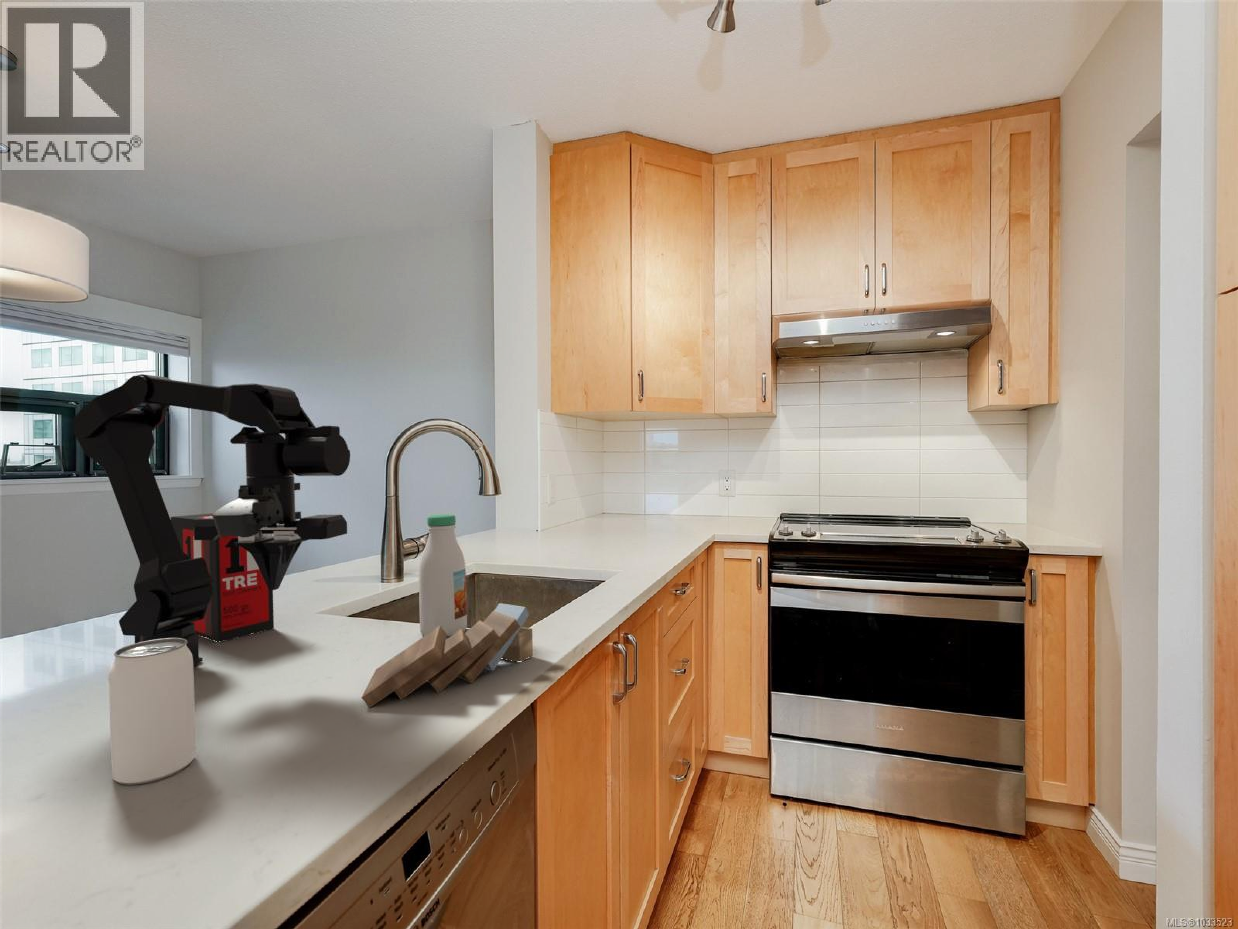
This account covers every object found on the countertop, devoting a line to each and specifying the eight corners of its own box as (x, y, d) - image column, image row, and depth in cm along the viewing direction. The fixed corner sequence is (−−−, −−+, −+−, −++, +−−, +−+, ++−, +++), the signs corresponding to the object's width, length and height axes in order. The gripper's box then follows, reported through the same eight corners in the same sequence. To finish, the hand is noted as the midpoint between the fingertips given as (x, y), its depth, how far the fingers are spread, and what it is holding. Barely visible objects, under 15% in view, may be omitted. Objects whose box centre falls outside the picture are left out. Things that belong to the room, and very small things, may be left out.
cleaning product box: (173, 628, 106) (170, 516, 106) (228, 616, 114) (225, 512, 113) (218, 642, 97) (214, 521, 97) (273, 628, 105) (270, 516, 105)
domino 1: (361, 697, 71) (434, 647, 73) (376, 669, 80) (440, 625, 82) (369, 708, 71) (441, 657, 73) (383, 678, 81) (446, 634, 82)
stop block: (519, 663, 86) (519, 634, 86) (488, 656, 89) (487, 628, 89) (532, 656, 88) (532, 628, 88) (501, 650, 91) (501, 623, 91)
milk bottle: (441, 641, 96) (439, 518, 96) (410, 634, 100) (407, 516, 100) (476, 629, 103) (474, 514, 102) (445, 623, 107) (443, 512, 107)
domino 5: (488, 663, 81) (525, 607, 88) (461, 657, 83) (499, 603, 90) (493, 671, 82) (529, 614, 88) (466, 664, 84) (503, 610, 91)
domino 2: (393, 689, 73) (463, 639, 76) (396, 675, 78) (461, 628, 80) (401, 699, 74) (470, 649, 76) (403, 684, 78) (468, 637, 81)
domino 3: (431, 684, 75) (493, 629, 79) (420, 671, 79) (480, 620, 84) (438, 693, 75) (499, 637, 80) (427, 680, 80) (486, 628, 84)
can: (143, 753, 61) (140, 637, 61) (210, 750, 62) (207, 635, 61) (93, 789, 55) (89, 659, 54) (168, 785, 55) (164, 656, 55)
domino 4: (465, 675, 78) (515, 618, 83) (443, 664, 81) (493, 610, 87) (471, 683, 78) (520, 626, 84) (449, 672, 82) (498, 618, 88)
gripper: (157, 480, 74) (161, 604, 75) (300, 478, 73) (304, 604, 73) (222, 476, 85) (225, 584, 86) (347, 475, 84) (350, 584, 85)
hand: (273, 589), depth 82 cm, fingers closed
